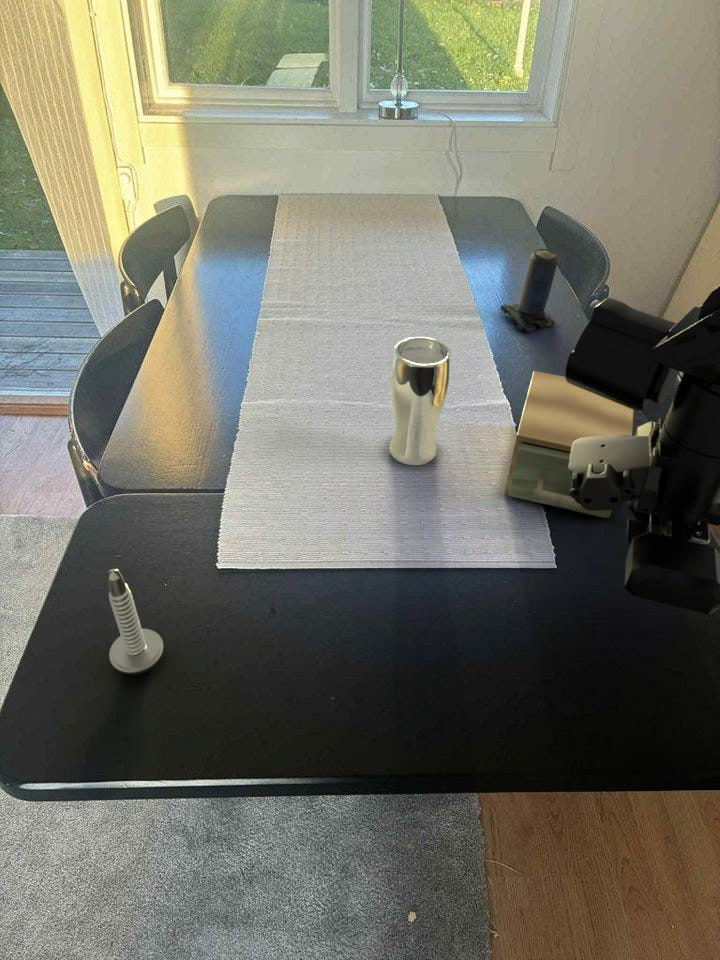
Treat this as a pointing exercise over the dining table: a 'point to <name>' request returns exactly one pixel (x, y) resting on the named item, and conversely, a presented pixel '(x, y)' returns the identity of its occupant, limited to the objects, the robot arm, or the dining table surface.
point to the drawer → (545, 478)
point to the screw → (131, 632)
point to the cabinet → (566, 417)
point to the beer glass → (418, 397)
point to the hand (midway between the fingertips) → (641, 578)
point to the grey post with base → (535, 291)
